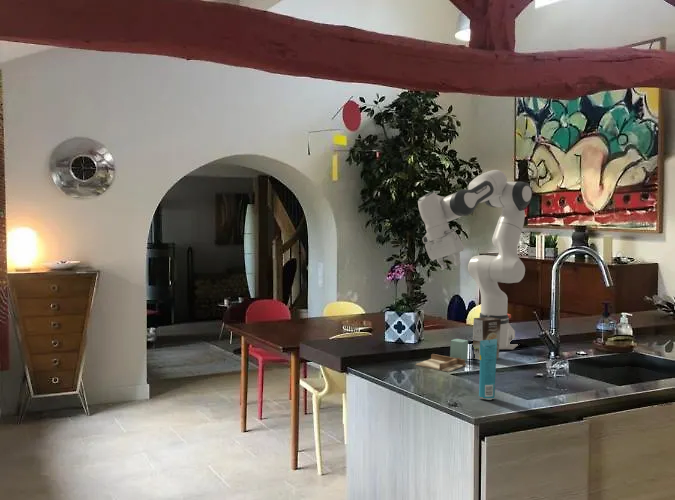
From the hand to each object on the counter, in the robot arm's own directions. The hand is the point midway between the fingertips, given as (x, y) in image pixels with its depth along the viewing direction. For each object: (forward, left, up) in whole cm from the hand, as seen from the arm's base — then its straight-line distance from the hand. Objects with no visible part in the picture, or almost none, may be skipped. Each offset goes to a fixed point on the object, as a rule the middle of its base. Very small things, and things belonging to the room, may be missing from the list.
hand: (451, 266), depth 278 cm
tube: (+39, +36, -37) cm, 65 cm away
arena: (+10, +3, -37) cm, 38 cm away
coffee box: (-13, +10, -37) cm, 40 cm away
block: (-2, +4, -37) cm, 37 cm away
